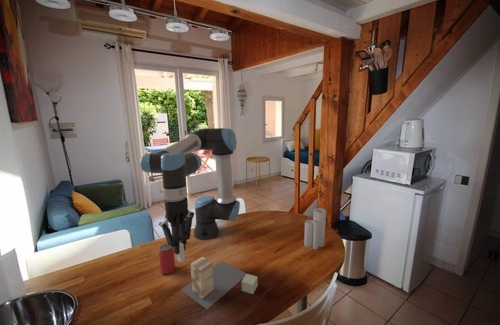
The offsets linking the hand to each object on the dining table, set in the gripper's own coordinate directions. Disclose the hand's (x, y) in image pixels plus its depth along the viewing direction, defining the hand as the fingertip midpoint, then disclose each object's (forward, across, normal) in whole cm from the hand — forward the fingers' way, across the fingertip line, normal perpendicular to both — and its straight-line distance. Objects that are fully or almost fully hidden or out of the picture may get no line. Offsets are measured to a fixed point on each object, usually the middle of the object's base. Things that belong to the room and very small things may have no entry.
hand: (180, 260), depth 82 cm
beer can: (+20, +8, +24) cm, 32 cm away
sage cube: (+20, +22, -14) cm, 33 cm away
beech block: (+19, +9, 0) cm, 21 cm away
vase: (+20, +70, -22) cm, 76 cm away
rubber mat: (+20, +16, 0) cm, 26 cm away
